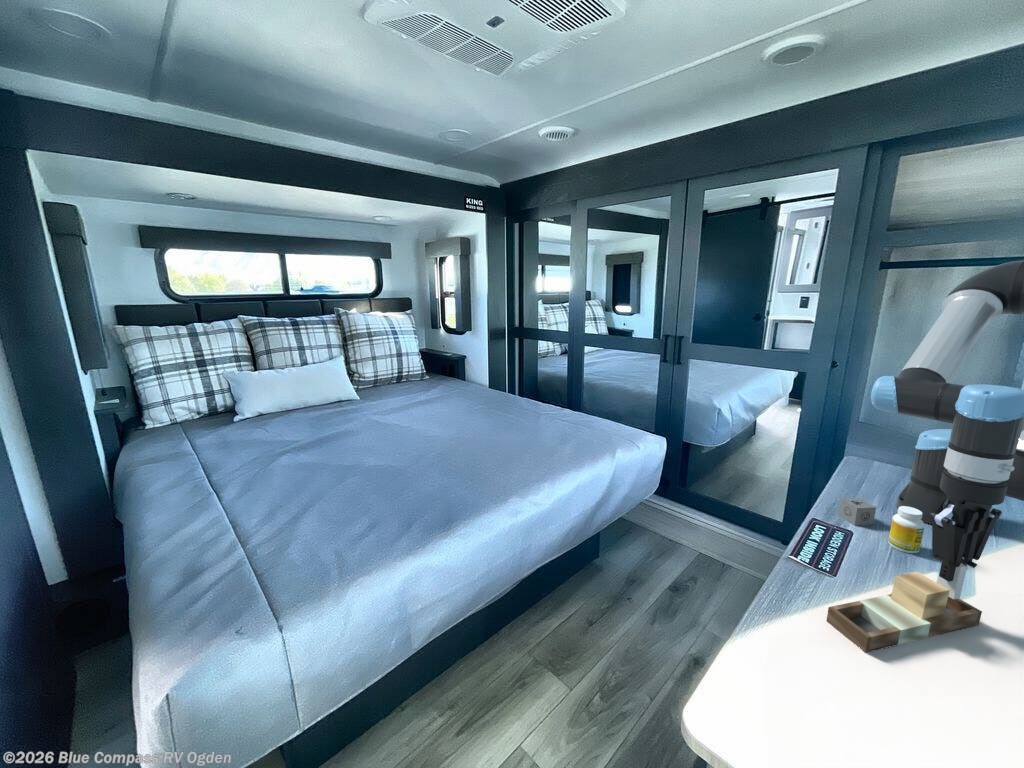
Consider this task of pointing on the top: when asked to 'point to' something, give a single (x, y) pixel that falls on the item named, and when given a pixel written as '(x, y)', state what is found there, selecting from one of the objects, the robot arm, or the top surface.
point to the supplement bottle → (906, 530)
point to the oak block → (920, 595)
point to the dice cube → (857, 511)
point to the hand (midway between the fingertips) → (947, 593)
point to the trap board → (896, 622)
